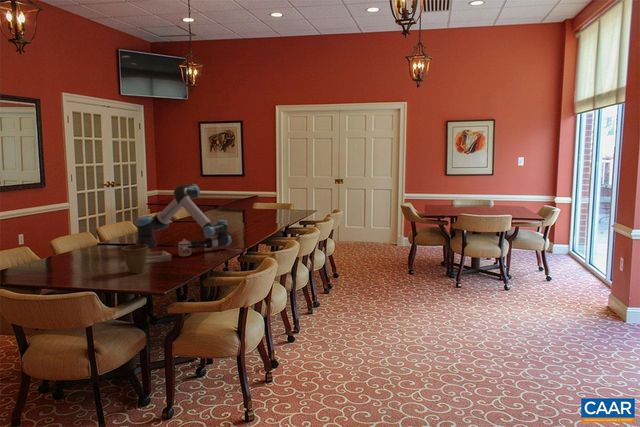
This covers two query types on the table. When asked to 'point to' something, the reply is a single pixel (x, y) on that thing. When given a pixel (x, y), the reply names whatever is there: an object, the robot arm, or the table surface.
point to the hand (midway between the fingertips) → (180, 246)
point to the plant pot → (135, 257)
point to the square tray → (158, 257)
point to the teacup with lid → (186, 251)
